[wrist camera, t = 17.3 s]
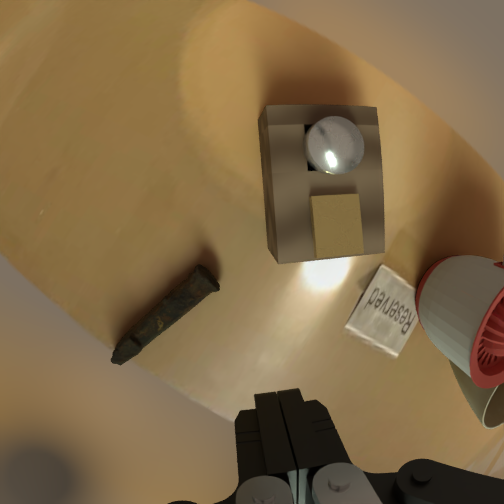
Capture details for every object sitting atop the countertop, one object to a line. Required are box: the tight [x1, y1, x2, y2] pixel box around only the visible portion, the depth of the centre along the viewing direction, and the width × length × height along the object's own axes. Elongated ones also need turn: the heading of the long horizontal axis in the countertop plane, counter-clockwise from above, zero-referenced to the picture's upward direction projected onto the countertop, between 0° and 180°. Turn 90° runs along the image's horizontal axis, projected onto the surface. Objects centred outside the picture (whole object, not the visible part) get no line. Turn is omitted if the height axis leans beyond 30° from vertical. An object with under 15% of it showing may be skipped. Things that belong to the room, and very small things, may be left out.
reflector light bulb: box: [302, 116, 364, 174], centre depth 33 cm, size 6×6×10 cm
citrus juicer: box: [415, 255, 504, 389], centre depth 35 cm, size 16×17×20 cm
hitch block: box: [258, 105, 385, 264], centre depth 35 cm, size 16×12×8 cm
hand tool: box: [111, 264, 220, 365], centre depth 39 cm, size 19×4×5 cm, turn 127°
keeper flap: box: [309, 194, 364, 258], centre depth 31 cm, size 6×5×1 cm
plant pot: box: [449, 359, 504, 429], centre depth 40 cm, size 15×15×16 cm
